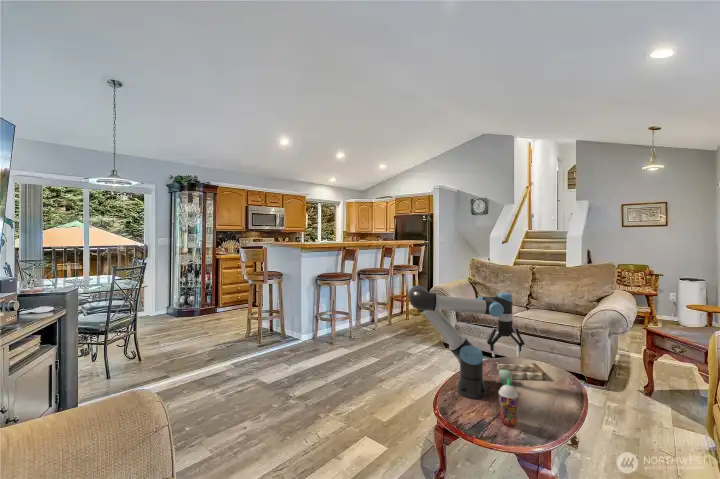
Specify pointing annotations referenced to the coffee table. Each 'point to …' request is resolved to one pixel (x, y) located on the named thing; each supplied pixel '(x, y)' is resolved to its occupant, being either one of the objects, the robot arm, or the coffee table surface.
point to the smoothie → (508, 404)
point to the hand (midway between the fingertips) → (505, 356)
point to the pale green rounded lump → (505, 377)
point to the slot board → (531, 370)
